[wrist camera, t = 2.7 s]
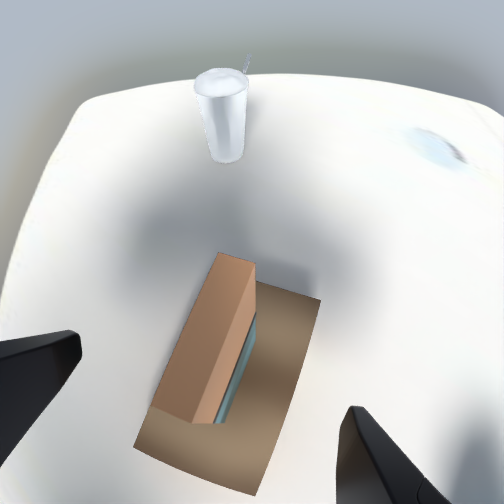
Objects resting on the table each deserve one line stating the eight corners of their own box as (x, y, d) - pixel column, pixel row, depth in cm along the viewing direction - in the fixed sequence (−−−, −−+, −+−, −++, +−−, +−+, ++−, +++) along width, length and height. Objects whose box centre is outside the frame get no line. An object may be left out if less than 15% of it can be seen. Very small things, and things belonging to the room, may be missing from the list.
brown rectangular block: (212, 423, 10) (191, 423, 7) (183, 411, 10) (150, 405, 7) (255, 310, 13) (255, 262, 9) (228, 302, 13) (218, 252, 9)
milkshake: (265, 152, 29) (267, 61, 21) (220, 175, 28) (209, 78, 19) (238, 131, 31) (234, 47, 23) (195, 152, 29) (181, 63, 21)
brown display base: (255, 485, 14) (254, 521, 8) (150, 445, 16) (94, 450, 9) (312, 317, 20) (338, 262, 14) (216, 287, 22) (200, 223, 15)
